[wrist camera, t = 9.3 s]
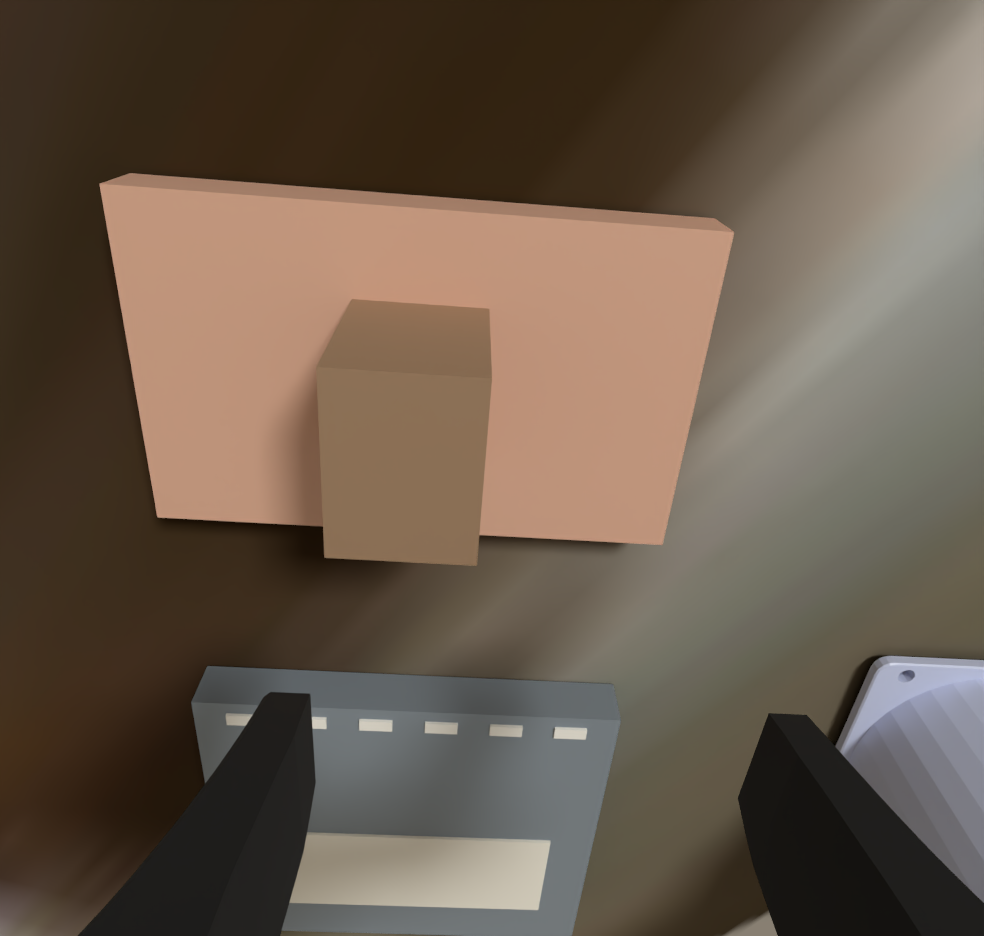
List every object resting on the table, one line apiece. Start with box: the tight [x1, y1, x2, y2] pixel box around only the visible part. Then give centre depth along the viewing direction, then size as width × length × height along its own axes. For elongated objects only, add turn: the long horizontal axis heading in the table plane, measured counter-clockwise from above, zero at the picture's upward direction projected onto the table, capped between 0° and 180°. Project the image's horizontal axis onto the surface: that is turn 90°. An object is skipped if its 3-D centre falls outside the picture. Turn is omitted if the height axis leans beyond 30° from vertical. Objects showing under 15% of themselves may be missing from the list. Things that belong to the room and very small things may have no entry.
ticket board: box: [191, 666, 621, 936], centre depth 26 cm, size 13×12×2 cm
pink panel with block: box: [100, 173, 734, 566], centre depth 16 cm, size 13×8×6 cm, turn 86°
